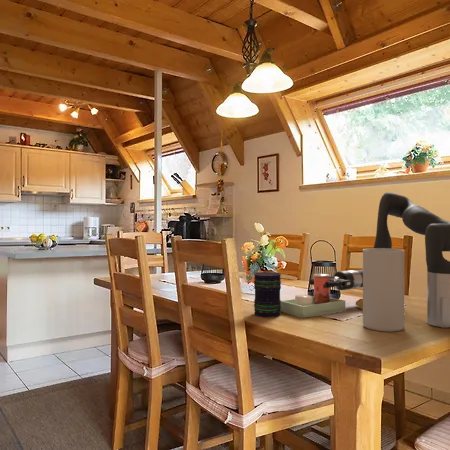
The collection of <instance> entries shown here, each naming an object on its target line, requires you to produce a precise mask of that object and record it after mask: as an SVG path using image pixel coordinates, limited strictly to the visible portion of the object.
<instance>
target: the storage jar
mask: <svg viewBox="0 0 450 450" xmlns="http://www.w3.org/2000/svg"><path fill="white" fill-rule="evenodd" d="M281 276H282V275H281V273H280V272H275V271H274V272H270V271H267V272H266V271H262V272H254V275H253V284H254V287H253V288H254V300H253V301H254V302H253V303H254V304H253V309H254V313H253V314H254V316H255V317H258V318H259V317H260V318H264V319H265V318H278V317H281V314H282V312H280V311H281V309H280V308H281V301H282V300H281V289H282V288H281V284H282V280H281V279H282V278H281Z"/></svg>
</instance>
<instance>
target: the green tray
mask: <svg viewBox="0 0 450 450" xmlns="http://www.w3.org/2000/svg"><path fill="white" fill-rule="evenodd" d="M312 297H313V305H307V306H301V305H297V304H295V298H291V299H285V300H281V308H280V309H281V311H280V313H283V314H287V315H291V316H295V317H298V318H301V319H307V318H311V317H319V316H323V315H324V316H325V314H326V315H331V313H332V314H337V313H336V312H338V313H343V312H342V311H344V312H346V300H343V299H341V298H340V299H339V298H334V297H330V302H328V303H321V304H314V296H312Z"/></svg>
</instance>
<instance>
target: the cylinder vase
mask: <svg viewBox="0 0 450 450" xmlns="http://www.w3.org/2000/svg"><path fill="white" fill-rule="evenodd" d="M362 269H363V287H362V299H363V310H362V324H363V326H364V327H365V328H367V329H368V330H372V331H376V332H377V331H378V332H385V333H386V332H387V333H389V332H390V333H391V332H392V333H393V332H400V331H402V330H403V329H404V328H405V311H404V308H405V249H400V248H392V249H385V248H374V247H373V248H363V249H362Z"/></svg>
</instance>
